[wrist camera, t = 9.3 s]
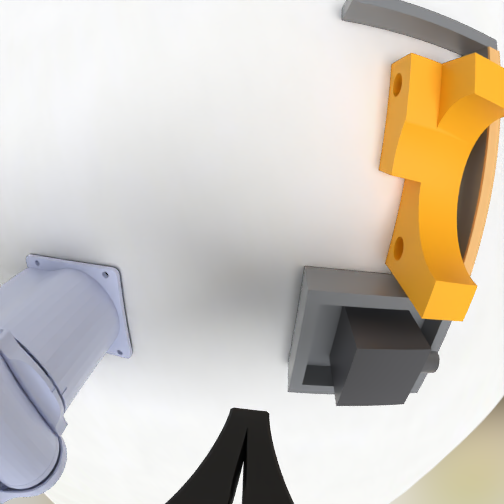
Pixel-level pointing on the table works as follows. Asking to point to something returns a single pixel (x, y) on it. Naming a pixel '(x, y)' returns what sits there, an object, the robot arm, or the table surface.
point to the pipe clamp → (435, 172)
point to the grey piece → (385, 285)
